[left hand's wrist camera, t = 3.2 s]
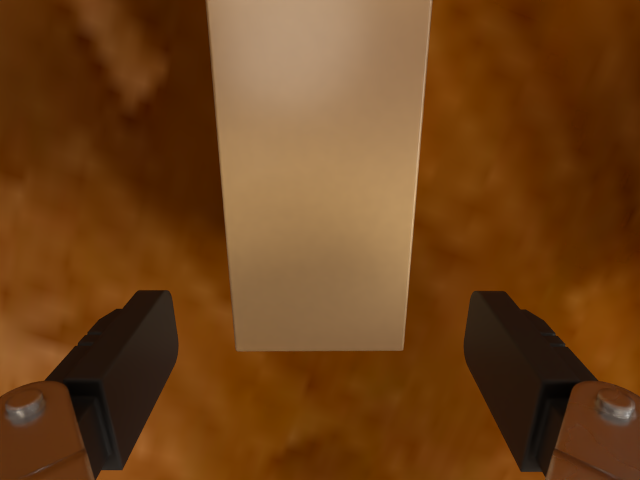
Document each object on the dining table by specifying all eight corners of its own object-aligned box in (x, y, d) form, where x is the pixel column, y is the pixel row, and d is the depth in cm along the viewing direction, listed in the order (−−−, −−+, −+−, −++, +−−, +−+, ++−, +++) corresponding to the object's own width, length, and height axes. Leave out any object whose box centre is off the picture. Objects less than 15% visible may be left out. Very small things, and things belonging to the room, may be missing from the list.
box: (370, 244, 25) (403, 351, 15) (267, 244, 25) (235, 352, 15) (389, -199, 18) (478, -542, 8) (246, -199, 18) (157, -544, 8)
